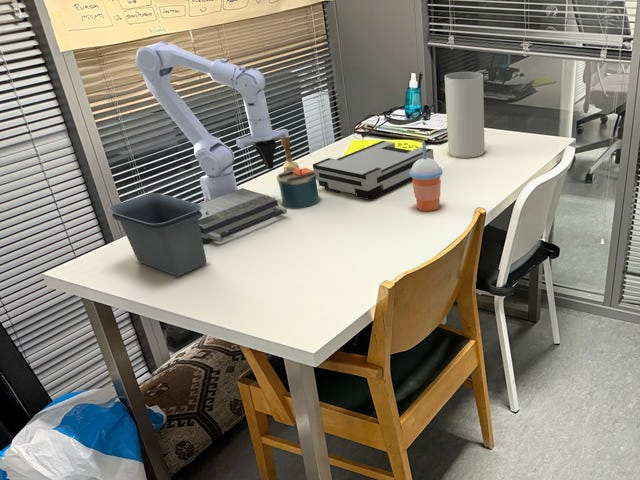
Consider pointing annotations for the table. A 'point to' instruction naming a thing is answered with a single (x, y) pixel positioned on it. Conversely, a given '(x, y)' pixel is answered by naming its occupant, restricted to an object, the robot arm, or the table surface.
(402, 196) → the table surface
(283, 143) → the hand bell
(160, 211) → the storage bin
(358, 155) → the game console
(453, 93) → the cylinder vase
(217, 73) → the robot arm
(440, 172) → the cup with straw
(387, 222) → the table surface
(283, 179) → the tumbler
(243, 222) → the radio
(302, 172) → the slider
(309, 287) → the table surface
